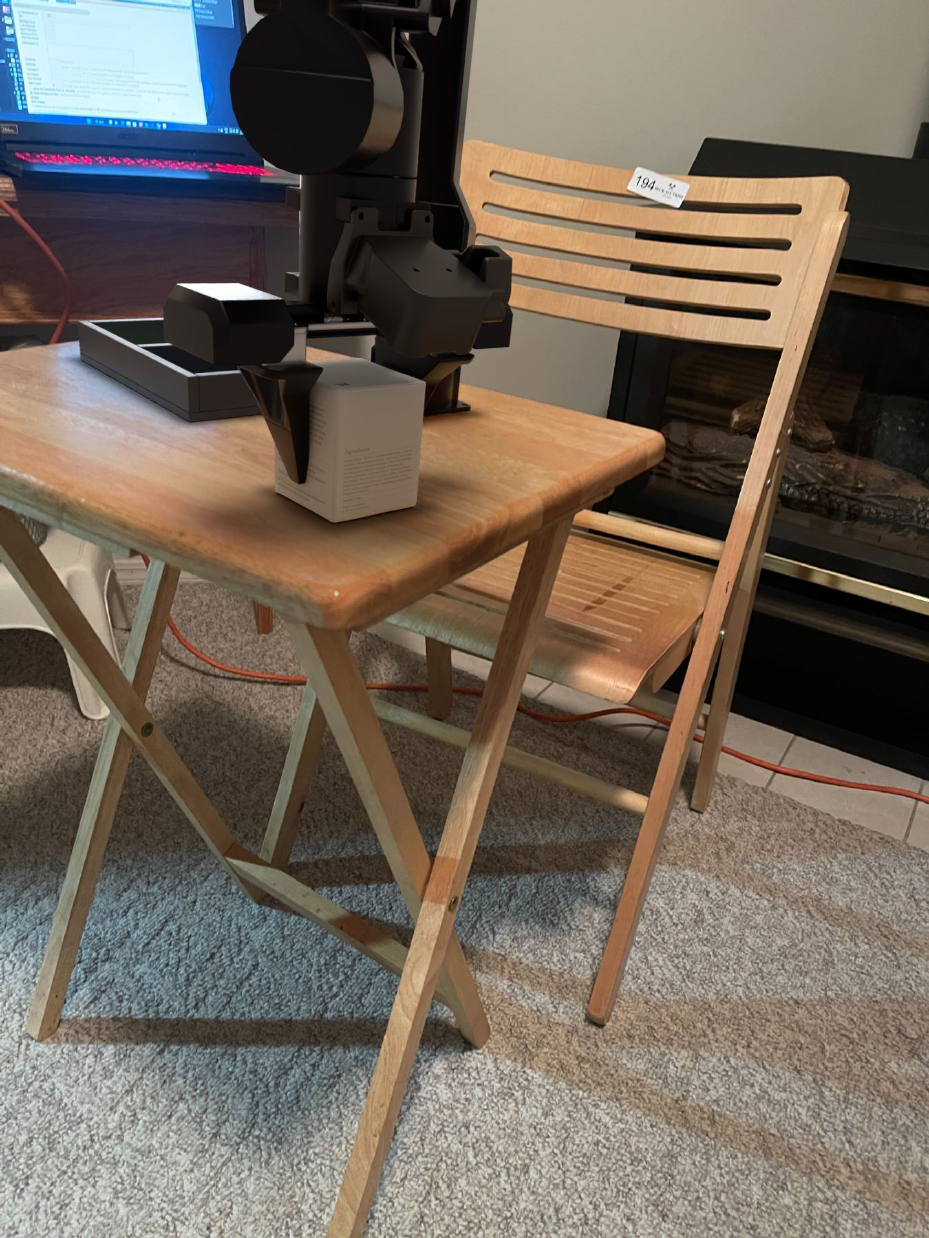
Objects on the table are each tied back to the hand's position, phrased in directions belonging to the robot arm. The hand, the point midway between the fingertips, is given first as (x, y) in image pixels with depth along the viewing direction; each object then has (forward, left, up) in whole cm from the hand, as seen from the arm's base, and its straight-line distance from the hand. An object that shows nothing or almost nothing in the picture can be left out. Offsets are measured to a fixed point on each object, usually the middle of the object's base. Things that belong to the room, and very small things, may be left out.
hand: (345, 474), depth 53 cm
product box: (0, 0, -2) cm, 2 cm away
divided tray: (-4, -27, -2) cm, 27 cm away
